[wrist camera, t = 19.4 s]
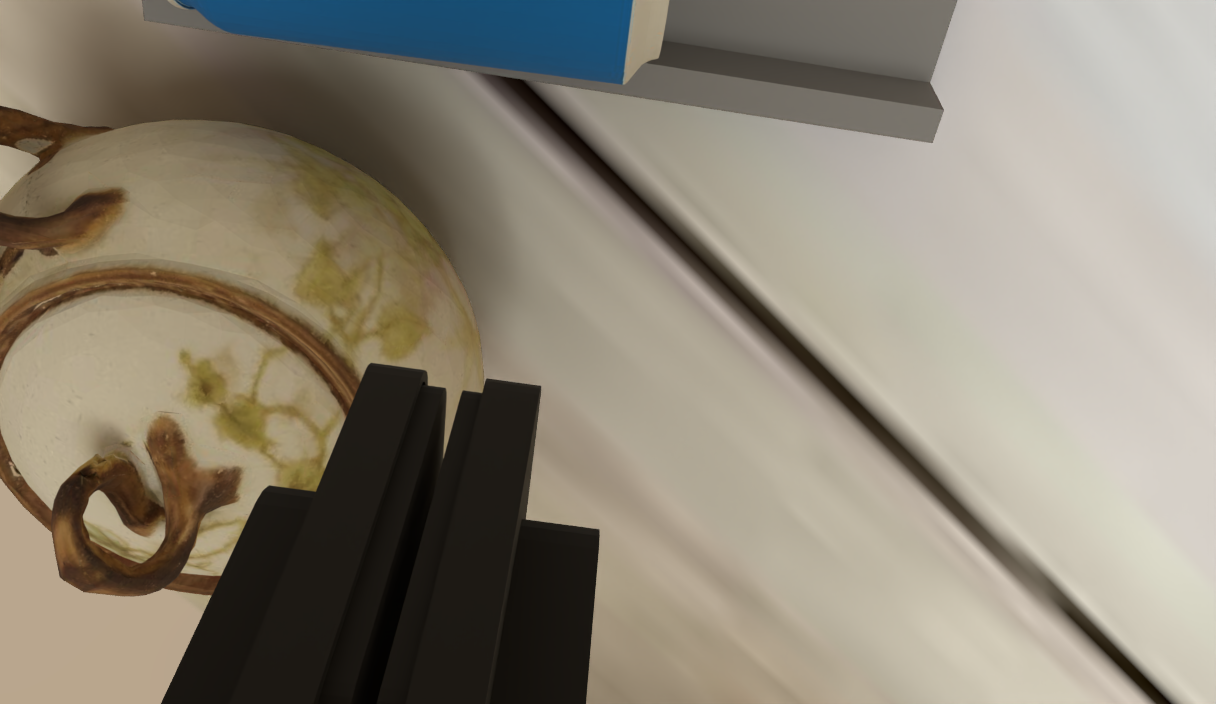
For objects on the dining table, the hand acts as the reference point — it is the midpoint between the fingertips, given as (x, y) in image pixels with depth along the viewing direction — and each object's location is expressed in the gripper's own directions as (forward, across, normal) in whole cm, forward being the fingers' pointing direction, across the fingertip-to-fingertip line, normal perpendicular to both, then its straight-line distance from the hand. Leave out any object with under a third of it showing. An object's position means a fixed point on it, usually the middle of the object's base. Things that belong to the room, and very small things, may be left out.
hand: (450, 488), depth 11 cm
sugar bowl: (+24, +9, +12) cm, 28 cm away
